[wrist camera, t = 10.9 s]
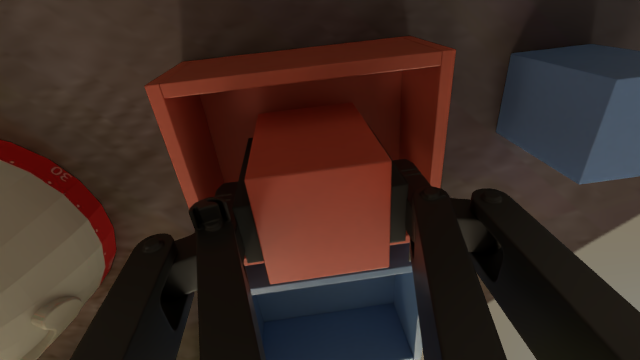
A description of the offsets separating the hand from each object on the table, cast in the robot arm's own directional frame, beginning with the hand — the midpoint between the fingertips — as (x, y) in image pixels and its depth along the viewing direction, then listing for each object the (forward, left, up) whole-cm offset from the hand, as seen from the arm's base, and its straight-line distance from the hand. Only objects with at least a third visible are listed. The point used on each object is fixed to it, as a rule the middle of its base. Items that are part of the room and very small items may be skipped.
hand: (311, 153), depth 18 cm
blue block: (-15, -1, -3) cm, 15 cm away
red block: (0, 0, 0) cm, 0 cm away
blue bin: (0, +12, -3) cm, 12 cm away
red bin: (0, 0, -3) cm, 3 cm away
